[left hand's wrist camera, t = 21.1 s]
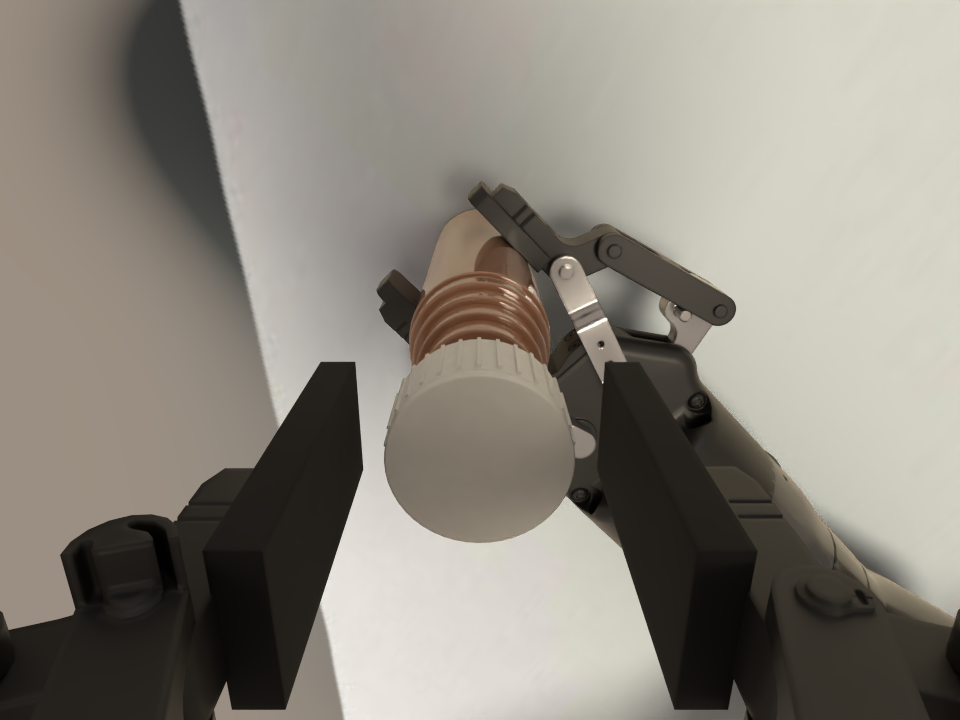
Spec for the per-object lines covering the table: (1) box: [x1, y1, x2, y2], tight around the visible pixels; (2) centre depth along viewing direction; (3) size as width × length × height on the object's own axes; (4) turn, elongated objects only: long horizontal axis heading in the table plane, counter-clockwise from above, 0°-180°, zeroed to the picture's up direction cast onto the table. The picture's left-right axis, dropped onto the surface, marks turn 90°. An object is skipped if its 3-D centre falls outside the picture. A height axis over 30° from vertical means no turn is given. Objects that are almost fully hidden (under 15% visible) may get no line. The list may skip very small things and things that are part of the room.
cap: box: [384, 337, 576, 543], centre depth 14 cm, size 4×4×2 cm
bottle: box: [409, 209, 551, 366], centre depth 22 cm, size 4×4×19 cm
